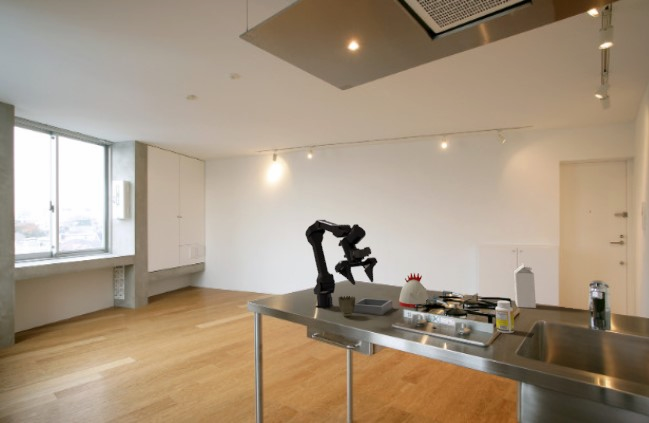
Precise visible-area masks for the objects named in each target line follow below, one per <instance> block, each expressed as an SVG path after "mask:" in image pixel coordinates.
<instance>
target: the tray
mask: <svg viewBox="0 0 649 423" xmlns="http://www.w3.org/2000/svg"><path fill="white" fill-rule="evenodd" d="M393 306H394V305H393V300H392V299H382V298H370V297H369V298H366V297H364V298H362V299H359V300H358V301H355V308H354V311H353V312H352V313H357V314H365V315H366V314H368V315H377V316H378V315H379V316H384V314H386V313H388V312H389V311H390V310H392V309H393Z"/></svg>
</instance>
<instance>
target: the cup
mask: <svg viewBox="0 0 649 423" xmlns="http://www.w3.org/2000/svg"><path fill="white" fill-rule="evenodd" d="M337 299H338V306H339V310H340V312H341V313H342V316H343V317H345V318H350V317H351V316H352V313H354V312H353V311H354V308H355V303H356V296H355V295H354V296H350V295H346V296H345V295H344V296H342V295H340V296H338V298H337Z"/></svg>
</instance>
